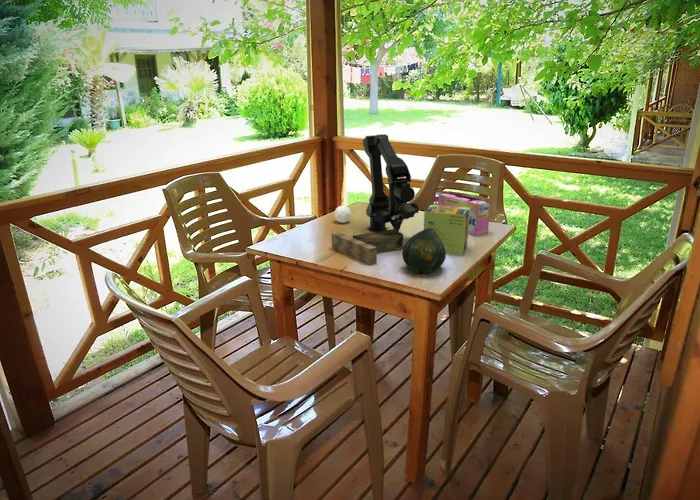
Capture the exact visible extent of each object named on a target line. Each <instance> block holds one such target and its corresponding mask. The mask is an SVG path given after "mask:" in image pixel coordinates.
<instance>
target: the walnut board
mask: <svg viewBox="0 0 700 500" xmlns="http://www.w3.org/2000/svg"><path fill="white" fill-rule="evenodd" d="M331 249H333V250H335V251H338V252H339V253H341V254H344V255H346V256H349V257H350V256H351V258H353V259H355V260H357V261H360V262H362V263H364V264H365V265H368V266H372V265H375V264H377V261H378V260H377V259H378V258H377V254H378V253H377V247H375V246H372V245H370V244H367V243H365V242H362V241H360V240H357V239H355V238H353V236H350V235H348V234H344V233H341V232H339V231H336V232H332V233H331Z"/></svg>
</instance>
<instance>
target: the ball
mask: <svg viewBox="0 0 700 500" xmlns="http://www.w3.org/2000/svg"><path fill="white" fill-rule="evenodd" d="M333 215H334V216H333V217H334V218H335V220H336V221H337V222H339V223H341V224H342V223H343V224H346V223H347V222H348V221H350V219H352V211H351V209H350V208H349V207H348V206H347V205H339V206H338V207H336V208H335V210H334V214H333Z"/></svg>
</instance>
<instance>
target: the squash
mask: <svg viewBox="0 0 700 500" xmlns="http://www.w3.org/2000/svg"><path fill="white" fill-rule="evenodd" d="M446 255H447V253H445V248H444V245H443V242H442V241H441V239H440V238H439V237H438V235H437V234H436V232H435V231H434V230H433V228H428V229H425V230H424V229H423V230H420V231H419V232H416V233H415V234H414V235H412V236H411V237H409V238H408V239H407V240H406V241H405V242H404V244H403V248H402V252H401V256H402V259H403V262H404V263H405V265H406V266H407V267H409V268H410V269H411V271H412V272H413V273H416V274H419V273H423V274H428V273H430V272H432V271H437V270H438V269H439V268H440V267H442V266H443V264H444V263H445V260H446Z"/></svg>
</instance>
